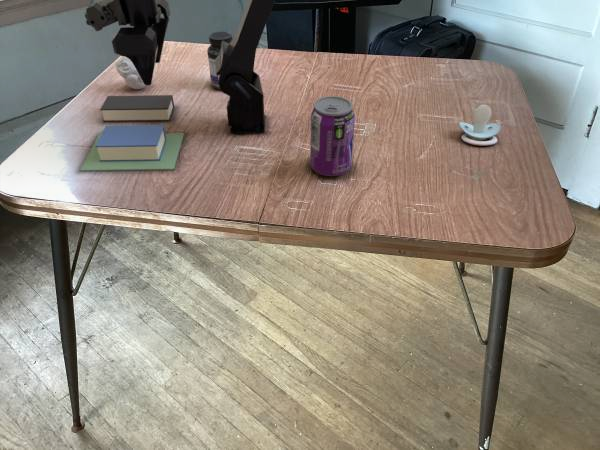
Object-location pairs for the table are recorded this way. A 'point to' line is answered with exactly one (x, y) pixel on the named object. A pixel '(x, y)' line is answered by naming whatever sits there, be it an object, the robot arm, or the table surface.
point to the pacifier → (480, 128)
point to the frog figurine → (129, 73)
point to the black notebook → (138, 108)
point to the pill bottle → (216, 53)
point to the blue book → (131, 143)
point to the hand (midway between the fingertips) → (152, 73)
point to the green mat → (165, 162)
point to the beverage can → (332, 135)
